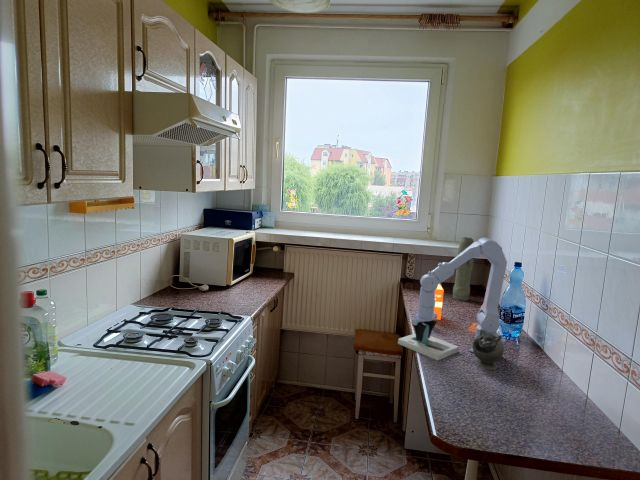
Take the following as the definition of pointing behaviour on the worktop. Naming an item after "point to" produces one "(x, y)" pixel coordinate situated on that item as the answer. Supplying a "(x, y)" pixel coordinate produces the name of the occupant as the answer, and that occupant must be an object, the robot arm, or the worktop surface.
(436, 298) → the orange juice
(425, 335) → the teal peg
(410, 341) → the white rectangular frame
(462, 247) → the thermos
